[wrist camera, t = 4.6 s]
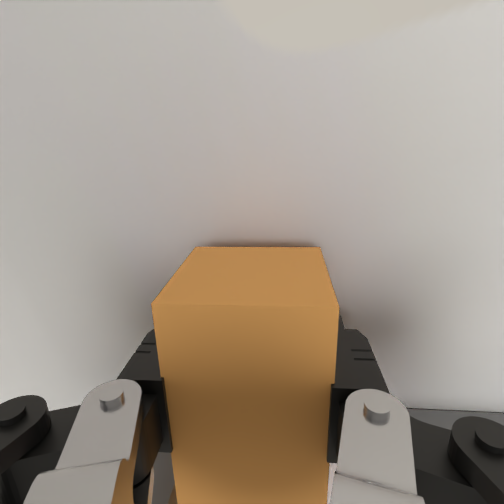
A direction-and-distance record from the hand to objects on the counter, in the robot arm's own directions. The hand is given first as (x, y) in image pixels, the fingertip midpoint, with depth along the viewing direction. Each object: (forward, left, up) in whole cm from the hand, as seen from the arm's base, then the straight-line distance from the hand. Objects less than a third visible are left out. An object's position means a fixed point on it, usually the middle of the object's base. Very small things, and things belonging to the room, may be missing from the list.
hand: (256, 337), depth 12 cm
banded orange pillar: (0, -5, -1) cm, 5 cm away
